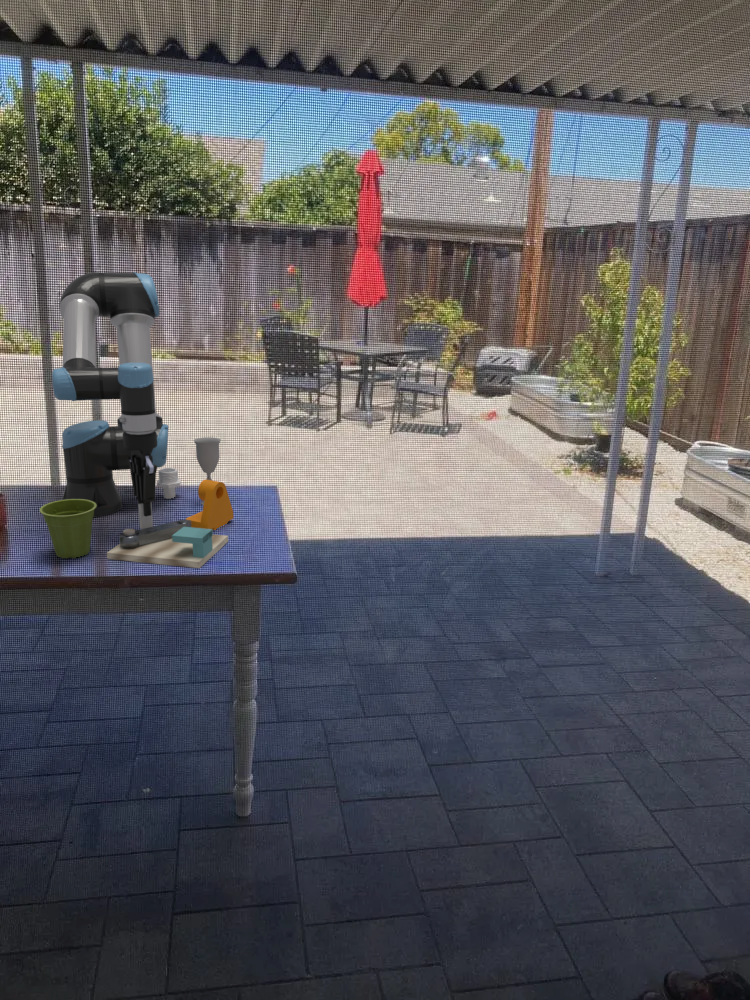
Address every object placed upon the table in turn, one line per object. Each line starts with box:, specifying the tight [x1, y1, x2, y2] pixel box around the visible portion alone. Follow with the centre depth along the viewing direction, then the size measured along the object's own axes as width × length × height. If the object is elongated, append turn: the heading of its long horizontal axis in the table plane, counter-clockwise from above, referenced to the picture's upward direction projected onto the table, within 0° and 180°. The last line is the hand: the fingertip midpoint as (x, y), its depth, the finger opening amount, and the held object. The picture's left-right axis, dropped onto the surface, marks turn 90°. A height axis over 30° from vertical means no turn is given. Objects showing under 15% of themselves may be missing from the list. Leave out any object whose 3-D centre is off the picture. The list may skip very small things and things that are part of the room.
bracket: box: [185, 479, 235, 531], centre depth 188 cm, size 11×7×12 cm, turn 155°
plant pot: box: [39, 499, 97, 559], centre depth 167 cm, size 12×12×11 cm
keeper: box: [172, 527, 214, 558], centre depth 167 cm, size 7×6×5 cm
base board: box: [106, 528, 229, 569], centre depth 172 cm, size 22×17×5 cm
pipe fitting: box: [156, 467, 182, 500], centre depth 210 cm, size 6×7×8 cm
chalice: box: [193, 436, 222, 506], centre depth 204 cm, size 7×7×18 cm
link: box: [118, 519, 192, 549], centre depth 174 cm, size 18×4×2 cm, turn 134°
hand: (146, 527), depth 178 cm, fingers closed
